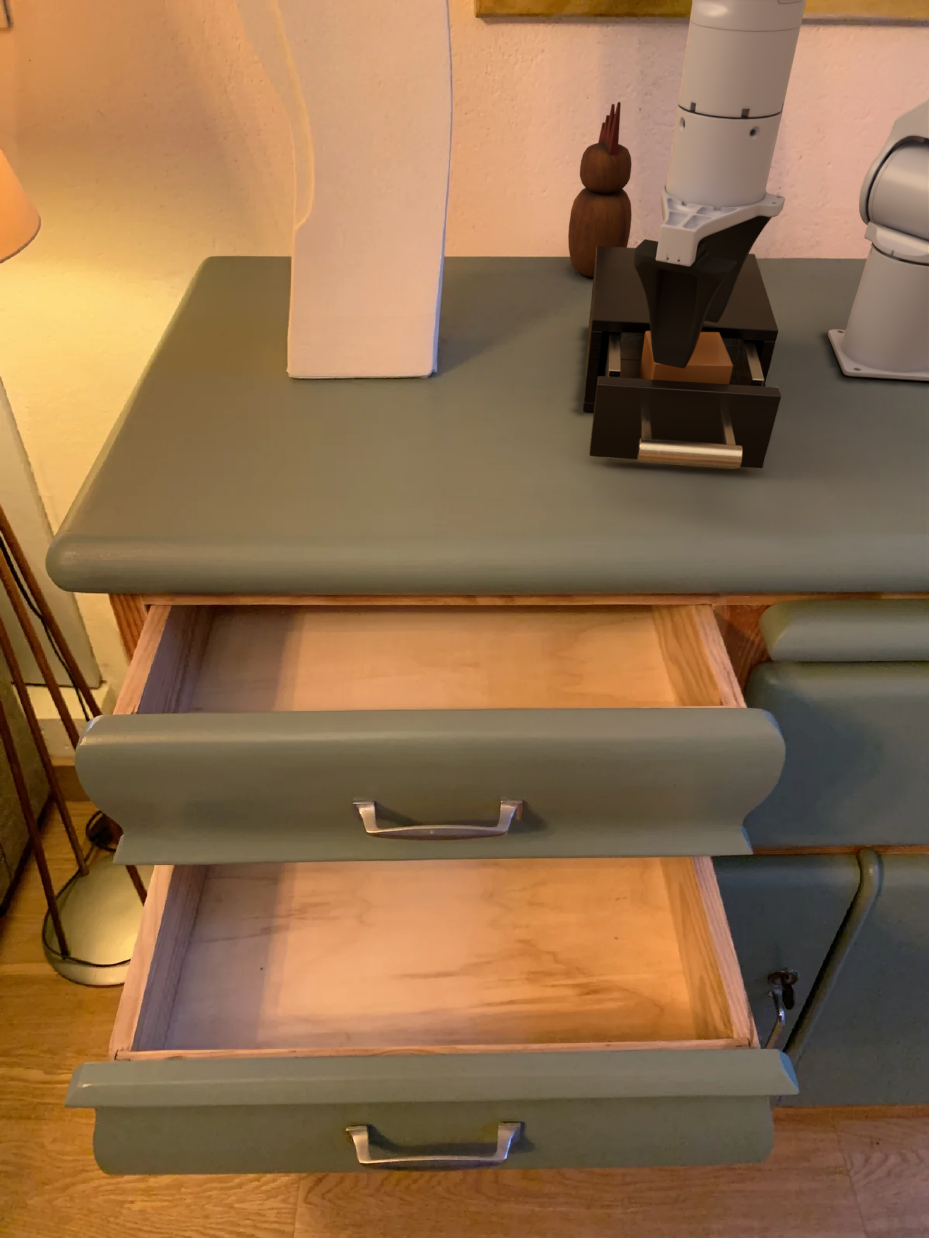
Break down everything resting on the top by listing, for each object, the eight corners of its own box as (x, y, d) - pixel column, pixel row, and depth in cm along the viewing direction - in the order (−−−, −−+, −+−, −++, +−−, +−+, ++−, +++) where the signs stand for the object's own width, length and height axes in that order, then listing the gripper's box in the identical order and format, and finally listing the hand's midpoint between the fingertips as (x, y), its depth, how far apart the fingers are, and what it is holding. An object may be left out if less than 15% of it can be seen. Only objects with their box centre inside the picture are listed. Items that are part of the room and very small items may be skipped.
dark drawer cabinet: (755, 423, 65) (778, 330, 60) (582, 412, 66) (592, 319, 62) (736, 338, 76) (755, 254, 71) (588, 329, 77) (596, 246, 72)
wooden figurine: (622, 286, 84) (644, 108, 74) (561, 281, 85) (575, 104, 75) (627, 261, 89) (648, 90, 79) (569, 256, 90) (583, 87, 80)
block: (635, 397, 64) (645, 330, 61) (705, 399, 64) (719, 332, 60) (643, 433, 60) (654, 363, 57) (718, 434, 60) (733, 365, 57)
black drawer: (773, 518, 55) (795, 443, 51) (586, 504, 56) (595, 429, 52) (742, 375, 69) (757, 308, 65) (594, 366, 70) (601, 300, 66)
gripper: (772, 147, 43) (718, 400, 52) (827, 89, 53) (774, 311, 62) (634, 129, 46) (605, 375, 55) (711, 77, 55) (675, 293, 64)
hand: (687, 340), depth 59 cm, fingers open, 7 cm apart
